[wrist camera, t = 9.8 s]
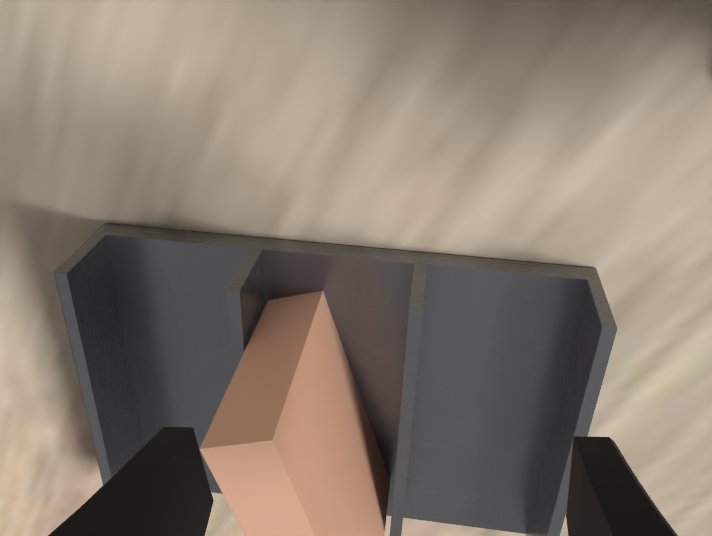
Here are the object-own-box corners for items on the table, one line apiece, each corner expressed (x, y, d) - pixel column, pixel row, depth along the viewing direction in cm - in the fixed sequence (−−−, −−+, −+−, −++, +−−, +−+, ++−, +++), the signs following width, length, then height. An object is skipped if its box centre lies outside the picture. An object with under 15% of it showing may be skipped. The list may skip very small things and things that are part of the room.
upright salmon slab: (322, 290, 22) (272, 440, 16) (390, 479, 26) (369, 656, 20) (268, 300, 23) (199, 449, 17) (342, 484, 27) (308, 658, 21)
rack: (595, 268, 21) (617, 328, 19) (534, 518, 27) (543, 594, 25) (105, 223, 23) (54, 272, 20) (149, 468, 29) (114, 533, 26)
